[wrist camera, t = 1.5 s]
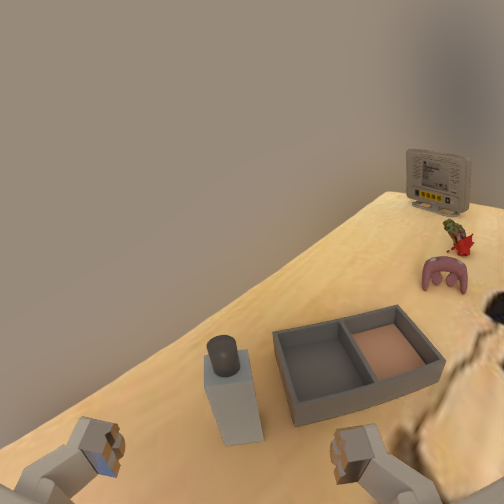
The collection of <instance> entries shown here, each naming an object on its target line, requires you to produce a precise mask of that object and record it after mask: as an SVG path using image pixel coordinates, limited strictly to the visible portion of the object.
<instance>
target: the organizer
mask: <svg viewBox="0 0 504 504" xmlns="http://www.w3.org/2000/svg"><path fill="white" fill-rule="evenodd" d="M272 333H273V342H274V351H275V356H276V359H277V363H278V367H279V371H280V374H281V378H282V382H283V385H284V389H285V393H286V396H287V400H288V404H289V407H290V411H291V415H292V418H293V422H294V426H295V427H297V426H302V425H306V424H311V423H315V422H319V421H323V420H327V419H331V418H335V417H339V416H342V415H346V414H349V413H353V412H356V411H360V410H363V409H366V408H369V407H372V406H376V405H379V404H382V403H385V402H387V401H390V400H393V399H396V398H399V397H401V396H404V395H407V394H409V393H412V392H415V391H417V390H420V389H422V388H425V387H427V386H430V385H432V384H434V383H437V382H438V381H439V379H440V376H441V374H442V371H443V368H444V365H445V363H446V360H445V359H444V358H443V356H442V355H441V354H440V353H439V352H438V350H437V349H436V348H435V347H434V346H433V344H432V343H431V342H430V341H429V340H428V338H427V337H426V336H425V335H424V334H423V333H422V332H421V330H420V329H419V328H418V327H417V326H416V325H415V323H414V322H413V321H412V320H411V319H410V318H409V317H408V316H407V314H406V313H405V312H404V311H403V310H402V309H401V308H400V307H399V305H394V306H390V307H386V308H382V309H378V310H374V311H370V312H366V313H362V314H357V315H353V316H349V317H344V318H340V319H335V320H331V321H326V322H322V323H317V324H312V325H307V326H302V327H297V328H292V329H286V330H281V331H275V332H272Z"/></svg>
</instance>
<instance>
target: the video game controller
mask: <svg viewBox="0 0 504 504" xmlns="http://www.w3.org/2000/svg"><path fill="white" fill-rule="evenodd" d="M440 271H446V272H450V274H449V275H448V276H447V278H446V282H447V284H448V285H449V286H454V285H455V284H456V282H457V280H459V281H460V286H461V292H462V294H465V293H466V290H467V281H468V276H467V268H466V266H465V264H464V263H463V262H462V261H460V260H458V259H455V258H452V257H447V256H440V257H433V258H431V259H429V260H427V261H426V262H425V264H424V268H423V274H422V287H423V290H424V291H426V290H427V288H428V285H429V281H430V278H431V279H432V282H433V283H434V284H436V285H438V284H440V283H441V282H442V280H443V278H442V275H441V273H440Z"/></svg>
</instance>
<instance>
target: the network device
mask: <svg viewBox="0 0 504 504" xmlns="http://www.w3.org/2000/svg"><path fill="white" fill-rule="evenodd" d="M406 163H407V164H406V169H407V171H406V172H407V182H406V183H407V185H406V186H407V187H406V192H407V193H406V194H407V197H408V198H411V199H414V200H418V201H416V202H413V203H412V206H414V207H417V208H420V209H423V210H427V211H430V212H434V213H437V214H440V215H443V216H447V217H456V216H458V215H460V213H463V212H465V211H467V210H468V209H469V202H470V188H471V186H470V185H471V160H470V159H469V158H468V157H464V156H458V155H453V154H446V153H440V152H433V151H427V150H420V149H409V150H407V151H406ZM419 203H427V204H430V205H432V206H431V207H430V208H426V207H422V206H419V205H416V204H419ZM440 209H448V210H451V211H454V212H456V213H454V214H451V215H450V214H446V213H442V212H439V211H438V210H440Z"/></svg>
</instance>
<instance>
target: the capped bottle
mask: <svg viewBox="0 0 504 504" xmlns="http://www.w3.org/2000/svg"><path fill="white" fill-rule="evenodd" d="M207 349H208V353H209V355H205V356H204V388H205V391H206V394H207V397H208V400H209V403H210V405H211V408H212V411H213V414H214V417H215V419H216V422H217V425H218V427H219V430H220V433H221V435H222V438H223V440H224V443H225V445H226V446H233V445H241V444H248V443H255V442H262V441H264V438H263V432H262V427H261V421H260V416H259V410H258V405H257V399H256V394H255V389H254V383H253V378H252V372H251V367H250V361H249V355H248V350H240V351H237V346H236V341H235V339H234V338H233V337H231V336H228V335H220V336H216V337H214V338H212V339H211V340H210V341H209V342H208V343H207Z"/></svg>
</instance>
